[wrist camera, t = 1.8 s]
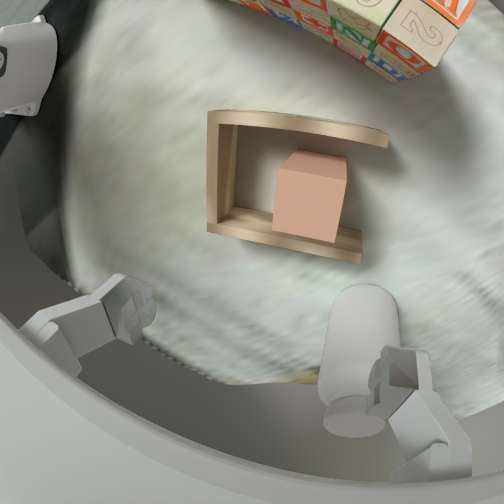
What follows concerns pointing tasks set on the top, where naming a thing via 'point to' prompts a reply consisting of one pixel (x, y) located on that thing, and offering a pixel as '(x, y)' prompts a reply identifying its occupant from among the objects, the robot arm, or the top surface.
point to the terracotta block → (310, 195)
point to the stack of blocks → (378, 29)
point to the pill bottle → (355, 357)
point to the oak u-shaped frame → (260, 223)
